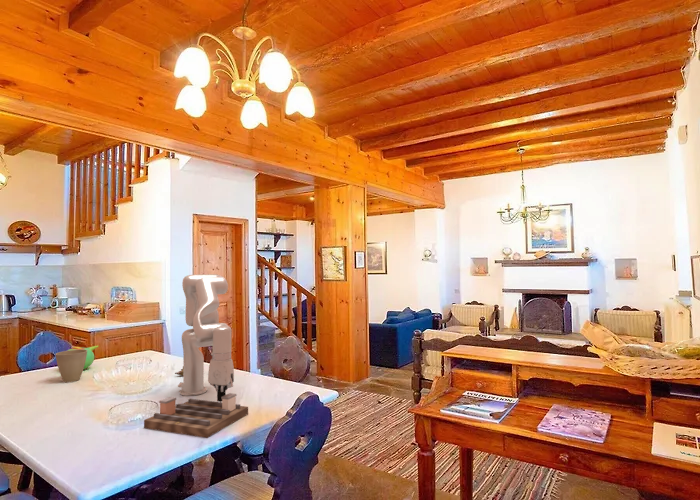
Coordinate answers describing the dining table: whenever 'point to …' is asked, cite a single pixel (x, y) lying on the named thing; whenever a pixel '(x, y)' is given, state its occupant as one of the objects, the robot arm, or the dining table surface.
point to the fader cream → (229, 401)
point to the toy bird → (89, 354)
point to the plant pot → (71, 364)
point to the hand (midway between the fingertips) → (221, 400)
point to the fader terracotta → (167, 406)
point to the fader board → (196, 418)
